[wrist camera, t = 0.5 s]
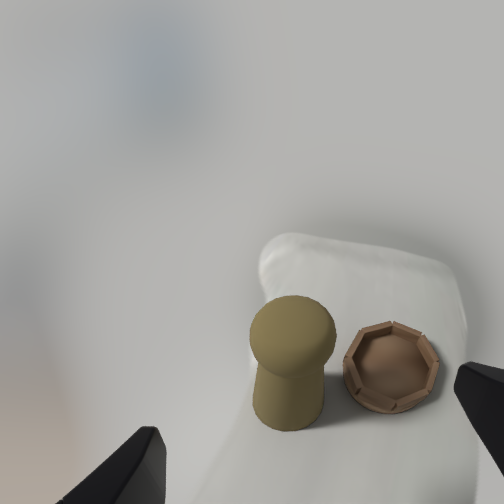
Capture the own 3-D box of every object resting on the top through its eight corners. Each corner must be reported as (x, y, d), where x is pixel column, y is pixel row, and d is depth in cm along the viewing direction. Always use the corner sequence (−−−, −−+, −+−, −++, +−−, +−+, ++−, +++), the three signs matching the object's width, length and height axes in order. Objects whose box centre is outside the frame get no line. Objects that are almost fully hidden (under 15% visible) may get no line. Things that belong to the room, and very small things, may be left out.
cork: (300, 360, 26) (309, 269, 19) (337, 409, 22) (369, 330, 15) (240, 387, 24) (223, 301, 18) (272, 443, 20) (271, 381, 13)
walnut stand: (443, 393, 20) (453, 383, 19) (360, 426, 20) (366, 418, 19) (407, 326, 28) (412, 313, 26) (331, 346, 27) (333, 333, 26)
